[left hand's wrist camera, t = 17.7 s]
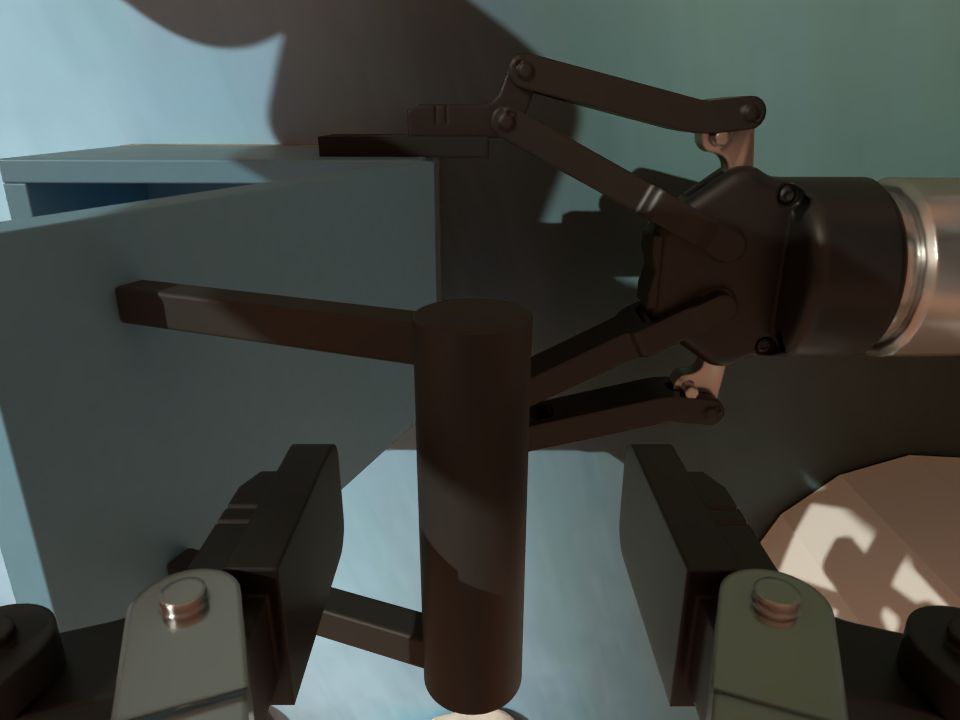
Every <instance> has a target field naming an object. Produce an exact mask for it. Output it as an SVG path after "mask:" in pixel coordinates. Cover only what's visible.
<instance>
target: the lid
mask: <svg viewBox="0 0 960 720" xmlns="http://www.w3.org/2000/svg"><path fill="white" fill-rule="evenodd" d="M531 345H532V315H531V313H530V312H529V311H528V310H527V309H525V308H524V307H521V306H519V305H516V304H513V303H509V302H505V301H499V300H490V299H454V300H446V301H440V302H437V299H436V250H435V201H434V162H428V161H405V162H398V163H392V164H385V165H378V166H371V167H365V168H358V169H351V170H345V171H338V172H331V173H325V174H318V175H311V176H304V177H298V178H291V179H284V180H278V181H271V182H264V183H258V184H251V185H244V186H237V187H231V188H224V189H217V190H211V191H204V192H197V193H190V194H184V195H177V196H170V197H164V198H157V199H150V200H144V201H137V202H130V203H123V204H117V205H110V206H103V207H97V208H90V209H83V210H77V211H70V212H63V213H56V214H50V215H43V216H36V217H30V218H23V219H16V220H9V221H3V222H0V548H1V551H2V555H3V558H4V562H5V565H6V569H7V572H8V576H9V579H10V583H11V586H12V590H13V593H14V597H15V600H16V604H21V603H30V604H38V605H41V606H44V607H46V608H48V609H50V610H51V611H52V612H53V613H54V616H55V618H56V621H57V625H58V629H59V632H60V633H61V632H66V631H71V630H75V629H80V628H84V627H89V626H94V625H98V624H103V623H107V622H112V621H115V620H119V619H122V618H125V617H126V613H127V609H128V607H129V605H130V604H131V602H132V601H133V600H134V598H135V597H136V596H137V595H138V594H139V593H140V592H141V591H142V590H144V589H145V588H147V587H148V586H149V585H151V584H153V583H154V582H156V581H158V580H160V579H162V578H164V577H166V576H169V575H172V574H175V573H178V572H182V571H185V570H187V569H188V567H189V565H190V564H191V562H192V561H193V559H194V558H195V556H196V554H197V553H198V551H199V550H200V548H201V547H202V545H203V543H204V542H205V540H206V539H207V537H208V535H209V534H210V532H211V531H212V529H213V528H214V526H215V524H218V520H219V518H220V516H221V515H222V513H223V512H224V510H225V509H228V504H229V502H230V501H231V499H232V498H233V496H234V494H235V493H236V491H237V490H238V488H239V487H240V486H241V485H243V484H244V483H245V482H247V481H248V480H249V479H251V478H252V477H254V476H255V475H256V474H258V473H259V472H261V471H277V470H278V468H279V466H280V464H281V463H282V461H283V459H284V457H285V455H286V454H287V452H288V450H289V448H290V447H291V445H292V444H335V445H336V447H337V450H338V457H339V468H340V481H341V490H342V489H343V488H344V487H345V486H346V485H347V484H348V483H349V482H350V481H351V480H353V479H354V478H355V477H356V476H357V475H358V474H359V473H360V472H361V471H363V470H364V469H365V468H366V467H367V466H368V465H369V464H370V463H371V462H372V461H374V460H375V459H376V458H377V457H378V456H379V455H380V454H381V453H382V452H383V451H385V450H386V449H387V448H388V447H389V446H390V445H391V444H392V443H393V442H395V441H396V440H397V439H398V438H399V437H400V436H401V435H402V434H403V433H404V432H406V431H407V430H408V429H409V428H410V427H411V426H412V425H413V424H414V423H416V445H417V475H418V505H419V535H420V565H421V595H422V613H421V612H418V611H414V610H411V609H407V608H404V607H400V606H396V605H393V604H389V603H386V602H382V601H379V600H375V599H371V598H368V597H364V596H361V595H357V594H354V593H350V592H346V591H343V590H339V589H336V588H332V587H331V589H330V592H329V595H328V598H327V601H326V605H325V608H324V611H323V614H322V618H321V621H320V624H319V627H318V631H317V634H316V635H318V636H321V637H325V638H328V639H331V640H334V641H337V642H341V643H344V644H347V645H350V646H354V647H357V648H360V649H363V650H366V651H370V652H373V653H376V654H379V655H383V656H386V657H389V658H392V659H395V660H399V661H402V662H405V663H408V664H412V665H415V666H418V667H421V668H424V680H425V685H426V688H427V690H428V692H429V694H430V695H431V697H432V698H433V699H434V700H435V701H436V702H437V703H438V704H439V705H441V706H442V707H444V708H446V709H447V710H450V711H452V712H455V713H459V714H465V715H481V714H486V713H490V712H493V711H495V710H498V709H500V708H501V707H503V706H504V705H506V704H507V703H508V702H509V701H510V700H511V699H512V698H513V697H514V696H515V694H516V693H517V691H518V689H519V687H520V684H521V676H522V643H523V610H524V577H525V544H526V510H527V477H528V444H529V411H530V378H531Z"/></svg>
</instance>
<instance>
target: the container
mask: <svg viewBox="0 0 960 720" xmlns="http://www.w3.org/2000/svg"><path fill="white" fill-rule="evenodd" d="M760 543H761V545H762V546H763V548H764V550H765V551H766V553H767V554H768V556H769V557H770V559H771V561H772V562H773V564H774V565H775V567H776V568H777V570H778V571H779V572H782V573H785V574H788V575H791V576H794V577H796V578H798V579H800V580H802V581H804V582H806V583H807V584H809V585H811V586H812V587H813V588H815V589H816V590H817V591H819V592H820V593H821V594H822V595H823V596H824V597H825V598H826V600H827V601H828V602H829V604H830V605H831V607H832V609H833V613H834V617H837V618H839V619H842V620H845V621H849V622H853V623H857V624H862V625H866V626H871V627H875V628H880V629H885V630H889V631H894V632H898V633H903V632H904V628H905V625H906V621H907V619H908V616H909V615H910V614H911V613H912V612H913V611H914V610H916V609H918V608H921V607H925V606H932V605H943V606H951V607H957V608H960V458H955V457H936V456H917V455H908V456H904V457H901V458H897V459H894V460H891V461H887V462H884V463H880V464H877V465H873V466H870V467H866V468H863V469H859V470H856V471H852V472H849V473H845V474H842V475H839V476H837V477H836V478H834V479H833V480H831V481H830V482H828V483H827V484H825V485H824V486H822V487H821V488H820V489H818V490H817V491H815V492H814V493H812V494H811V495H809V496H808V497H806V498H805V499H803V500H802V501H800V502H799V503H797V504H796V505H794V506H793V507H791V508H790V509H788V510H787V511H785V512H784V513H782V514H781V515H780V516H779V518H778V519H777V520H776V522H775V523H774V524H773V526H772V527H771V529H770V530H769V531H768V533H767V534H766V535H765V537H764V538H763V539H762V541H761V542H760Z"/></svg>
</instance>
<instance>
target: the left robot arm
mask: <svg viewBox="0 0 960 720" xmlns="http://www.w3.org/2000/svg"><path fill="white" fill-rule="evenodd" d="M619 530H620V544H621V551H622V556H623V559H624V562H625V565H626V569H627V572H628V575H629V578H630V581H631V584H632V587H633V591H634V594H635V597H636V600H637V603H638V606H639V610H640V613H641V616H642V619H643V622H644V625H645V628H646V632H647V635H648V638H649V641H650V644H651V647H652V651H653V654H654V657H655V660H656V663H657V666H658V669H659V673H660V676H661V679H662V682H663V685H664V688H665V692H666V695H667V698H668V701H669V704H670V706H695V708H696V710H697V713H698V716H699V719H700V720H960V608H957V607H951V606H943V605H932V606H925V607H921V608H918V609H916V610H914V611H913V612H912V613H911V614H910V615H909V616H908V619H907V621H906V625H905V628H904V632H903V633H898V632H894V631H889V630H885V629H880V628H875V627H871V626H866V625H862V624H857V623H853V622H849V621H845V620H842V619H839V618H837V617H834V613H833V609H832V607H831V605H830V604H829V602H828V601H827V600H826V598H825V597H824V596H823V595H822V594H821V593H820V592H819V591H817V590H816V589H815V588H813V587H812V586H811V585H809V584H807V583H806V582H804V581H802V580H800V579H798V578H796V577H794V576H791V575H788V574H785V573H782V572H779V571H778V570H777V568H776V567H775V565H774V564H773V562H772V561H771V559H770V557H769V556H768V554H767V553H766V551H765V550H764V548H763V546H762V545H761V543H760V542H759V540H758V539H757V537H756V536H755V534H754V532H753V531H752V529H751V528H750V526H749V525H746V520H745V518H744V517H743V515H742V514H741V512H740V511H739V509H736V504H735V503H734V501H733V500H732V498H731V497H730V495H729V493H728V492H727V490H726V489H725V487H723V486H722V485H720V484H719V483H718V482H716V481H715V480H713V479H712V478H711V477H709V476H708V475H706V474H705V473H704V472H687V471H686V469H685V467H684V465H683V463H682V462H681V460H680V458H679V456H678V455H677V453H676V451H675V449H674V448H673V446H672V445H670V444H629V445H628V446H627V449H626V453H625V462H624V474H623V486H622V498H621V510H620V525H619ZM343 536H344V518H343V505H342V493H341V481H340V468H339V457H338V450H337V447H336V445H335V444H292V445H291V447H290V448H289V450H288V452H287V454H286V455H285V457H284V459H283V461H282V463H281V464H280V466H279V468H278V470H277V471H261V472H259V473H258V474H256V475H255V476H254V477H252V478H251V479H249V480H248V481H247V482H245V483H244V484H243V485H241V486H240V487H239V488H238V490H237V491H236V493H235V494H234V496H233V498H232V499H231V501H230V502H229V504H228V509H225V510H224V512H223V513H222V515H221V516H220V518H219V520H218V524H215V526H214V528H213V529H212V531H211V532H210V534H209V535H208V537H207V539H206V540H205V542H204V543H203V545H202V547H201V548H200V550H199V551H198V553H197V554H196V556H195V558H194V559H193V561H192V562H191V564H190V565H189V567H188V569H187V570H185V571H182V572H178V573H175V574H172V575H169V576H166V577H164V578H162V579H160V580H158V581H156V582H154V583H153V584H151V585H149V586H148V587H147V588H145V589H144V590H142V591H141V592H140V593H139V594H138V595H137V596H136V597H135V598H134V600H133V601H132V602H131V604H130V605H129V607H128V609H127V613H126V617H125V618H122V619H119V620H115V621H112V622H107V623H103V624H98V625H94V626H89V627H84V628H80V629H75V630H71V631H66V632H61V633H60V632H59V629H58V625H57V621H56V618H55V616H54V613H53V612H52V611H51V610H50V609H48V608H46V607H44V606H41V605H38V604H30V603H21V604H11V605H5V606H1V607H0V720H265V717H266V715H267V712H268V709H269V706H270V705H295V702H296V698H297V695H298V692H299V689H300V685H301V682H302V679H303V676H304V672H305V669H306V666H307V663H308V660H309V656H310V653H311V650H312V647H313V643H314V640H315V637H316V634H317V631H318V627H319V624H320V621H321V618H322V614H323V611H324V608H325V605H326V601H327V598H328V595H329V592H330V589H331V585H332V582H333V579H334V576H335V572H336V569H337V566H338V563H339V560H340V556H341V552H342V546H343Z"/></svg>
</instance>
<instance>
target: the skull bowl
mask: <svg viewBox="0 0 960 720" xmlns="http://www.w3.org/2000/svg"><path fill="white" fill-rule="evenodd" d="M432 720H515V719H514V718H513V717H511V716H510V715H509V714H508V713H506V712H505V711H502V710H499V709H498V710H495V711H493V712H490V713H486V714H481V715H465V714H459V713H455V712H454V713H450V714H446V715H440V716H437V717H435V718H433V719H432Z"/></svg>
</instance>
